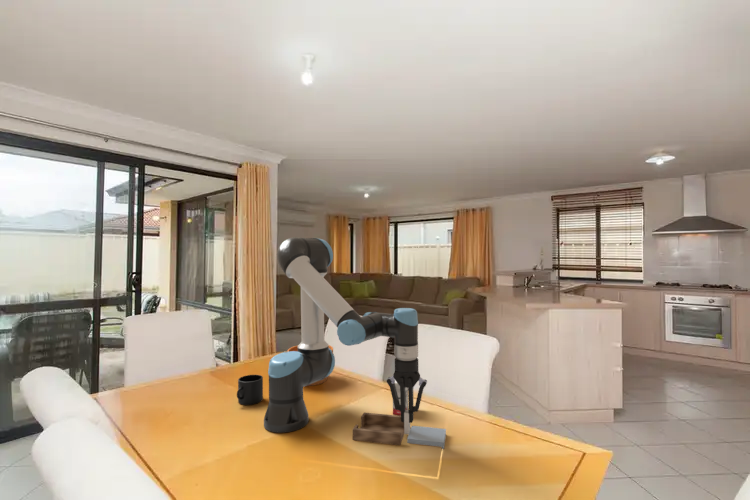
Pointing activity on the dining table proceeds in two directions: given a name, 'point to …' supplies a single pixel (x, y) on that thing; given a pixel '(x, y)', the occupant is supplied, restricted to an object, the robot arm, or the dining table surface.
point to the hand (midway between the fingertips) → (407, 432)
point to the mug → (250, 389)
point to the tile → (427, 436)
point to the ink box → (397, 412)
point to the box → (379, 429)
